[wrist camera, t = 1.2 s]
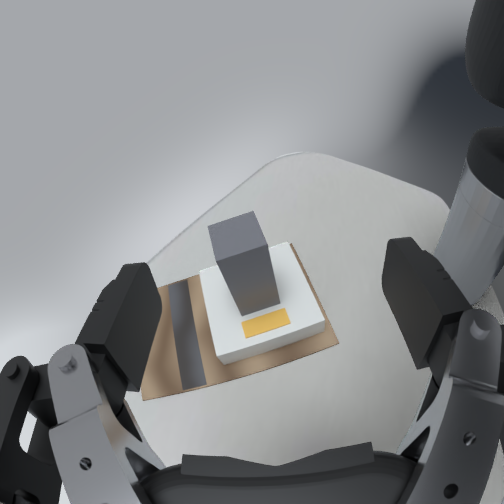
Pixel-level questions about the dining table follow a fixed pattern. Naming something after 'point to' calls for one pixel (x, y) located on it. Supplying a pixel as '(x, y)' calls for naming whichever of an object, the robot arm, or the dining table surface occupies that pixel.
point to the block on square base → (255, 293)
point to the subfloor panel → (208, 345)
